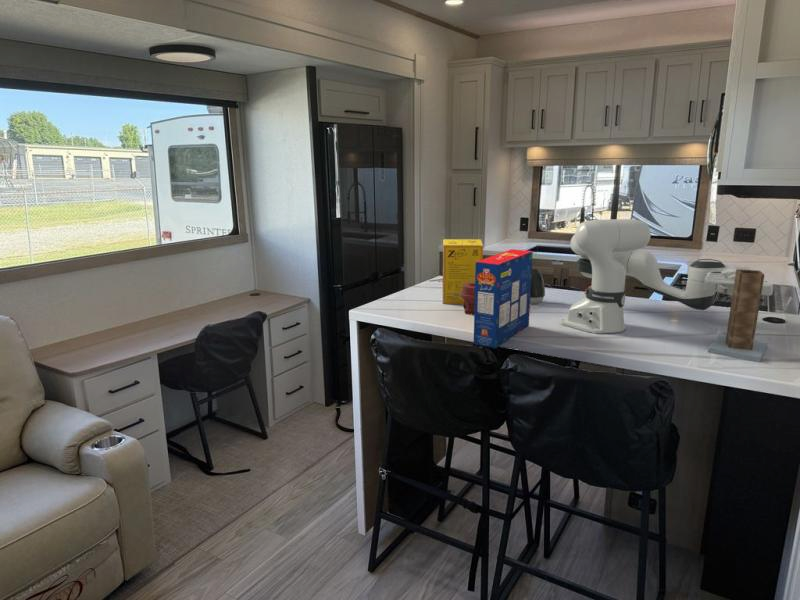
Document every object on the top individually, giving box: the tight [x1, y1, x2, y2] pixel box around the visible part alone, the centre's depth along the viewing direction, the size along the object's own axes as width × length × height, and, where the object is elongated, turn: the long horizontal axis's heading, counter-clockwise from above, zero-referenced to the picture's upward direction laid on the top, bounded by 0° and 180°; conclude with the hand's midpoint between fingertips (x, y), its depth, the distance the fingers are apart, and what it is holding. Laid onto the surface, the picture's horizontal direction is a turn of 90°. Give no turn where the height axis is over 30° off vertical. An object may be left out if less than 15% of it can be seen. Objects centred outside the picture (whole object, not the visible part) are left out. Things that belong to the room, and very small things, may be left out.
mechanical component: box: [460, 282, 475, 315], centre depth 220 cm, size 12×10×10 cm
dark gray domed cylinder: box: [530, 266, 546, 305], centre depth 233 cm, size 10×10×15 cm
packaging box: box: [442, 238, 484, 305], centre depth 239 cm, size 16×16×25 cm
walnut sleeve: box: [725, 268, 765, 350], centre depth 174 cm, size 6×6×24 cm
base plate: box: [707, 334, 768, 363], centre depth 176 cm, size 14×16×8 cm
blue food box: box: [473, 248, 534, 349], centre depth 191 cm, size 28×8×28 cm, turn 145°
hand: (741, 291), depth 182 cm, fingers open, 8 cm apart
